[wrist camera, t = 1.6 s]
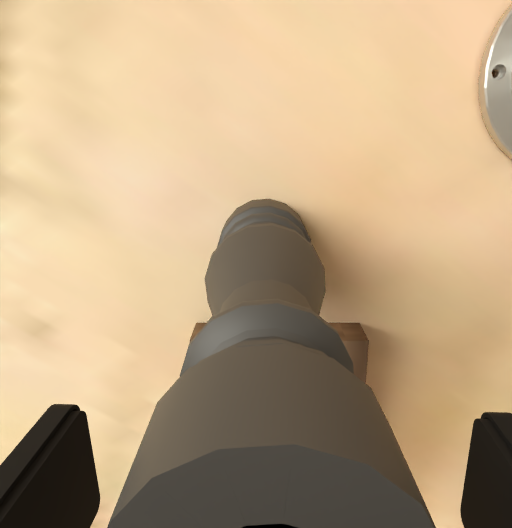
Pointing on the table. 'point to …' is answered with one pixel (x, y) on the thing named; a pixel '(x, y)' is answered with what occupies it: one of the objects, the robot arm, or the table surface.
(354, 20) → the table surface
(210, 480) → the candle holder
